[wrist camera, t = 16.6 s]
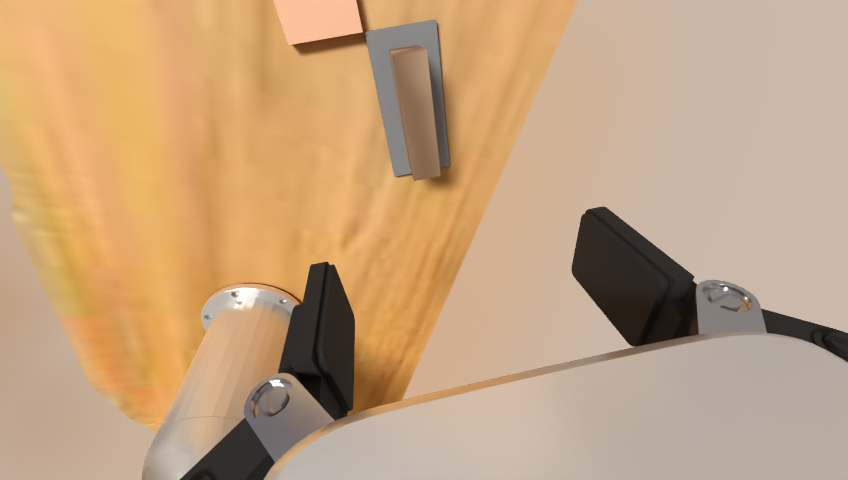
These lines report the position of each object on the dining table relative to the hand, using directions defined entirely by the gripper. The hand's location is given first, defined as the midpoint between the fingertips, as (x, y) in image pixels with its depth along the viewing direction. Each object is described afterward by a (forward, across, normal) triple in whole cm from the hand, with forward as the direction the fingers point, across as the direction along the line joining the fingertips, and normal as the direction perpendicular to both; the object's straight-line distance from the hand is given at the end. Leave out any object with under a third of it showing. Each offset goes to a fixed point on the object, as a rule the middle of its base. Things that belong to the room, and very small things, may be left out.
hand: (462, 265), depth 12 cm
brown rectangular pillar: (+23, -1, 0) cm, 23 cm away
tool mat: (+23, -1, 0) cm, 23 cm away
